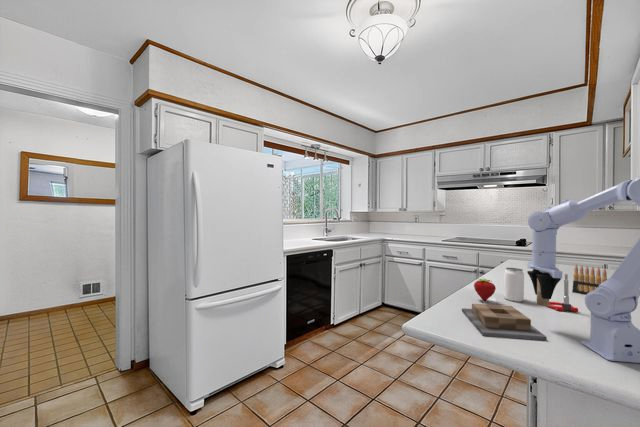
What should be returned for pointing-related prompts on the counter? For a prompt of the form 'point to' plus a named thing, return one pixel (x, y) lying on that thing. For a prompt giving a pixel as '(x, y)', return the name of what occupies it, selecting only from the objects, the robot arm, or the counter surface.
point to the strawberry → (484, 288)
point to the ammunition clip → (587, 280)
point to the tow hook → (565, 305)
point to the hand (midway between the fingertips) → (543, 296)
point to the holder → (502, 322)
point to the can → (514, 284)
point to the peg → (539, 298)
